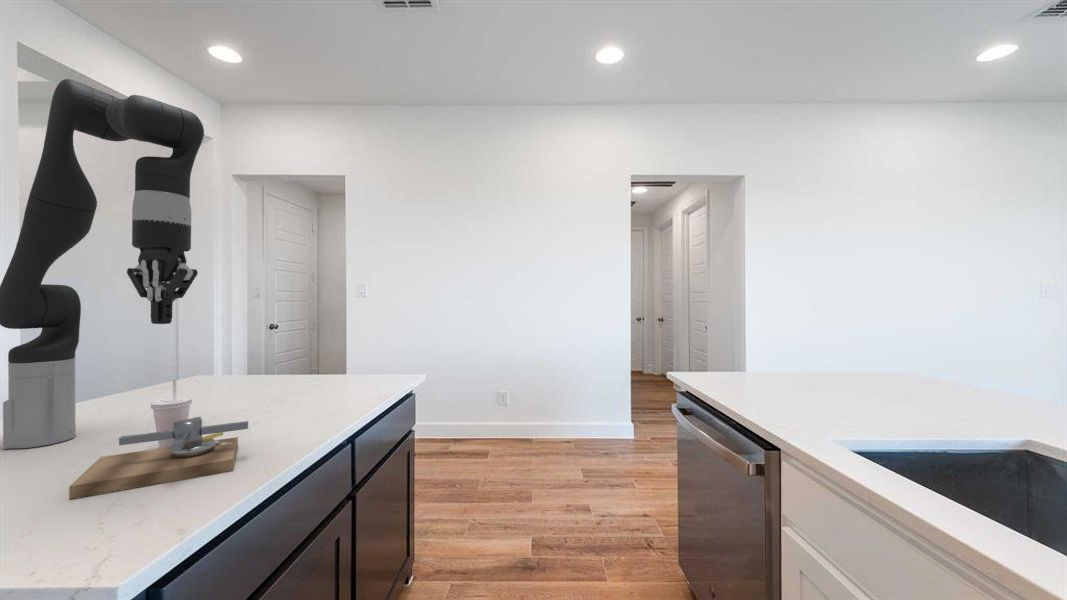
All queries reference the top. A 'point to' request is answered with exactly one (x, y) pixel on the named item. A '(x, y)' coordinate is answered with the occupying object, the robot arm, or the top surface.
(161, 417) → the smoothie
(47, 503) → the top surface
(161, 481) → the board
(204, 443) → the capstan
